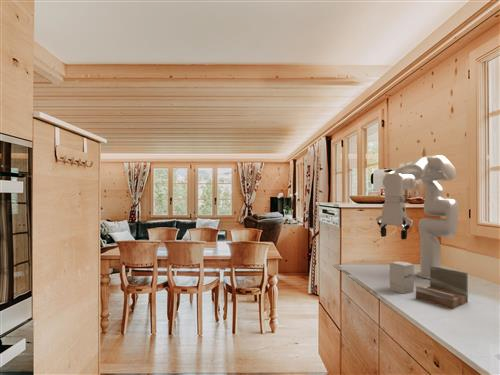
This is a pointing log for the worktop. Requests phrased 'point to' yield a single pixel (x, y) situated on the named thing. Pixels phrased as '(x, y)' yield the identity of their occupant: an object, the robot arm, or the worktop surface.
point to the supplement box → (401, 277)
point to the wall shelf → (445, 287)
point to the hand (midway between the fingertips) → (393, 237)
